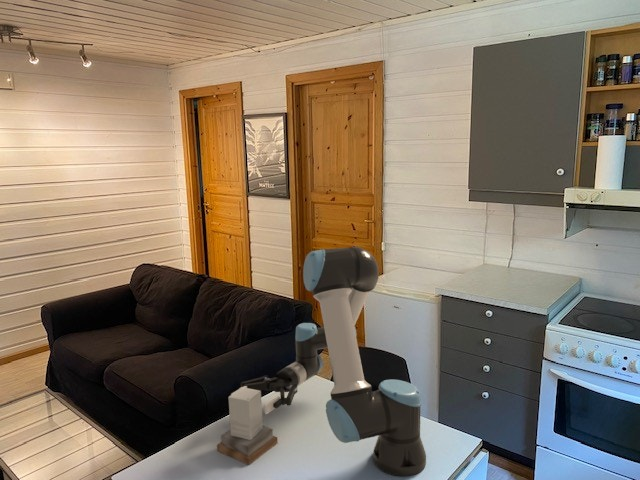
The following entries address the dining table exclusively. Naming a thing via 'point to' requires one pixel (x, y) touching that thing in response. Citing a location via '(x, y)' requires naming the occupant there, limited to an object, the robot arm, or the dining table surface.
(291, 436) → the dining table surface
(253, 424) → the supplement box
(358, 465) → the dining table surface
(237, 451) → the tower plinth
